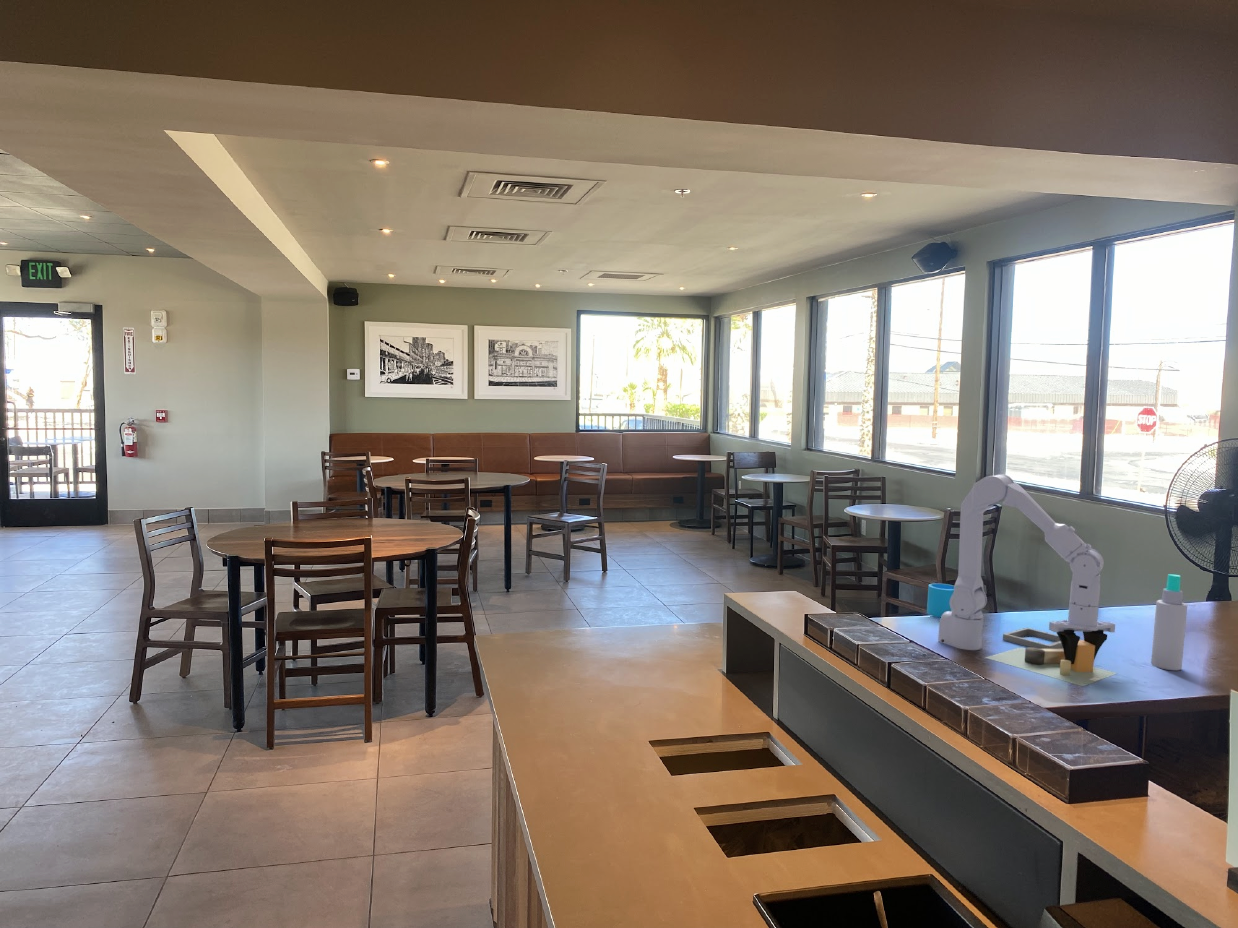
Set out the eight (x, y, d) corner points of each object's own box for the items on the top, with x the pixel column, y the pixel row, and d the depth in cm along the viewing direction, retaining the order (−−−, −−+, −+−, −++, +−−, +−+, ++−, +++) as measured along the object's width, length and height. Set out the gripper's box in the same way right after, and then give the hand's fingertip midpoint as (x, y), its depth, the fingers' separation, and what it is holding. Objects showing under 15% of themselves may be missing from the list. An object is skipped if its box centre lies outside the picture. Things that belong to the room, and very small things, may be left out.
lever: (1032, 665, 187) (1033, 653, 186) (1019, 658, 192) (1020, 646, 191) (1091, 665, 188) (1092, 653, 188) (1077, 658, 193) (1078, 646, 193)
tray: (1002, 645, 207) (1003, 633, 207) (1026, 638, 214) (1027, 627, 214) (1048, 658, 198) (1049, 646, 198) (1072, 650, 205) (1072, 639, 204)
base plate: (984, 663, 192) (985, 644, 191) (1020, 653, 201) (1021, 635, 201) (1082, 692, 174) (1083, 672, 174) (1116, 679, 183) (1118, 660, 183)
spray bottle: (1152, 668, 193) (1160, 575, 191) (1149, 661, 198) (1157, 571, 196) (1183, 672, 190) (1191, 579, 188) (1179, 665, 195) (1187, 574, 194)
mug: (923, 614, 236) (924, 586, 235) (931, 609, 242) (933, 582, 242) (966, 622, 228) (968, 593, 228) (974, 616, 235) (976, 588, 234)
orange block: (1076, 671, 184) (1078, 645, 183) (1064, 665, 187) (1066, 640, 187) (1092, 671, 184) (1095, 645, 183) (1081, 665, 188) (1083, 640, 187)
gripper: (1065, 607, 180) (1060, 668, 181) (1126, 608, 181) (1121, 668, 182) (1045, 599, 187) (1040, 658, 188) (1104, 600, 188) (1099, 658, 189)
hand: (1079, 662), depth 186 cm, fingers closed on orange block, 4 cm apart
